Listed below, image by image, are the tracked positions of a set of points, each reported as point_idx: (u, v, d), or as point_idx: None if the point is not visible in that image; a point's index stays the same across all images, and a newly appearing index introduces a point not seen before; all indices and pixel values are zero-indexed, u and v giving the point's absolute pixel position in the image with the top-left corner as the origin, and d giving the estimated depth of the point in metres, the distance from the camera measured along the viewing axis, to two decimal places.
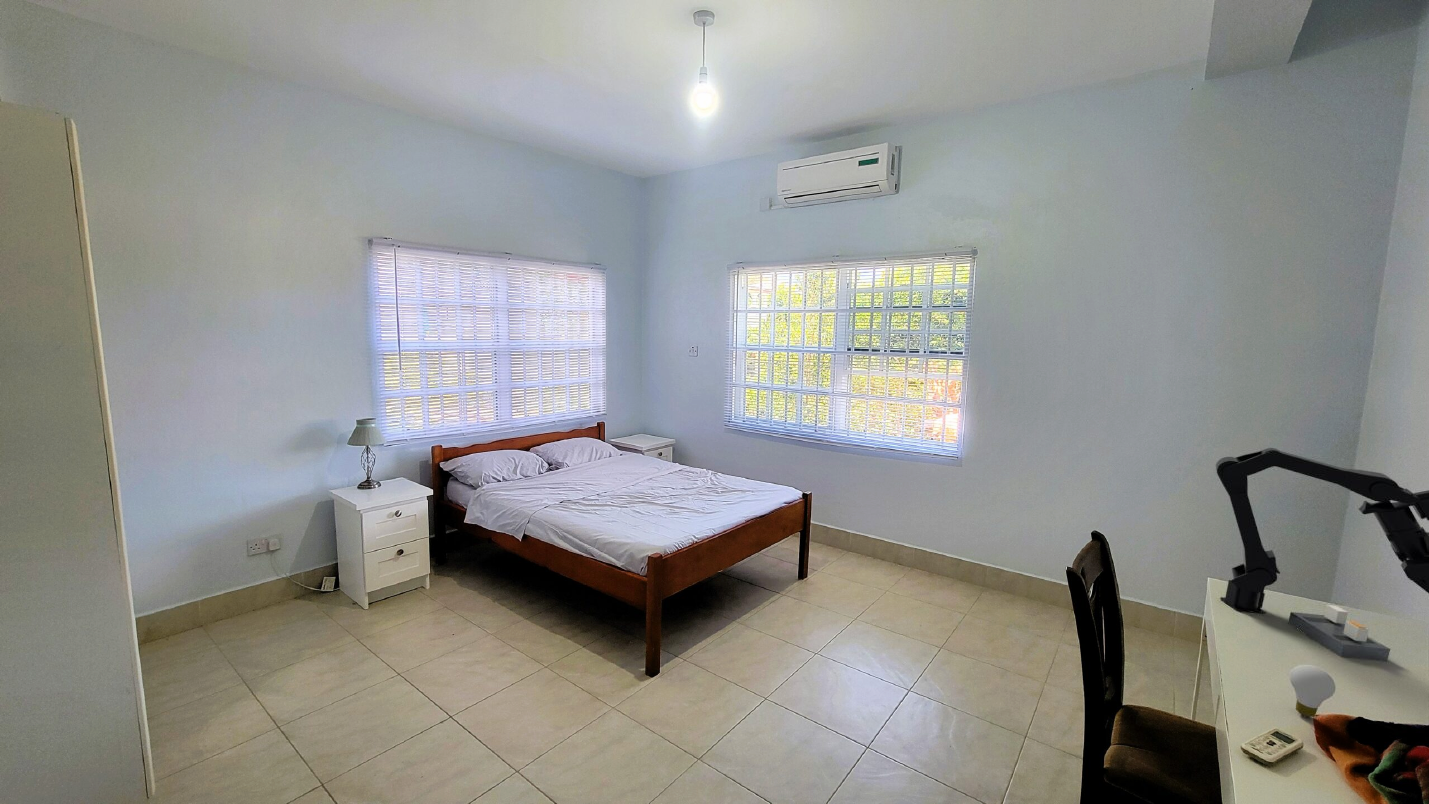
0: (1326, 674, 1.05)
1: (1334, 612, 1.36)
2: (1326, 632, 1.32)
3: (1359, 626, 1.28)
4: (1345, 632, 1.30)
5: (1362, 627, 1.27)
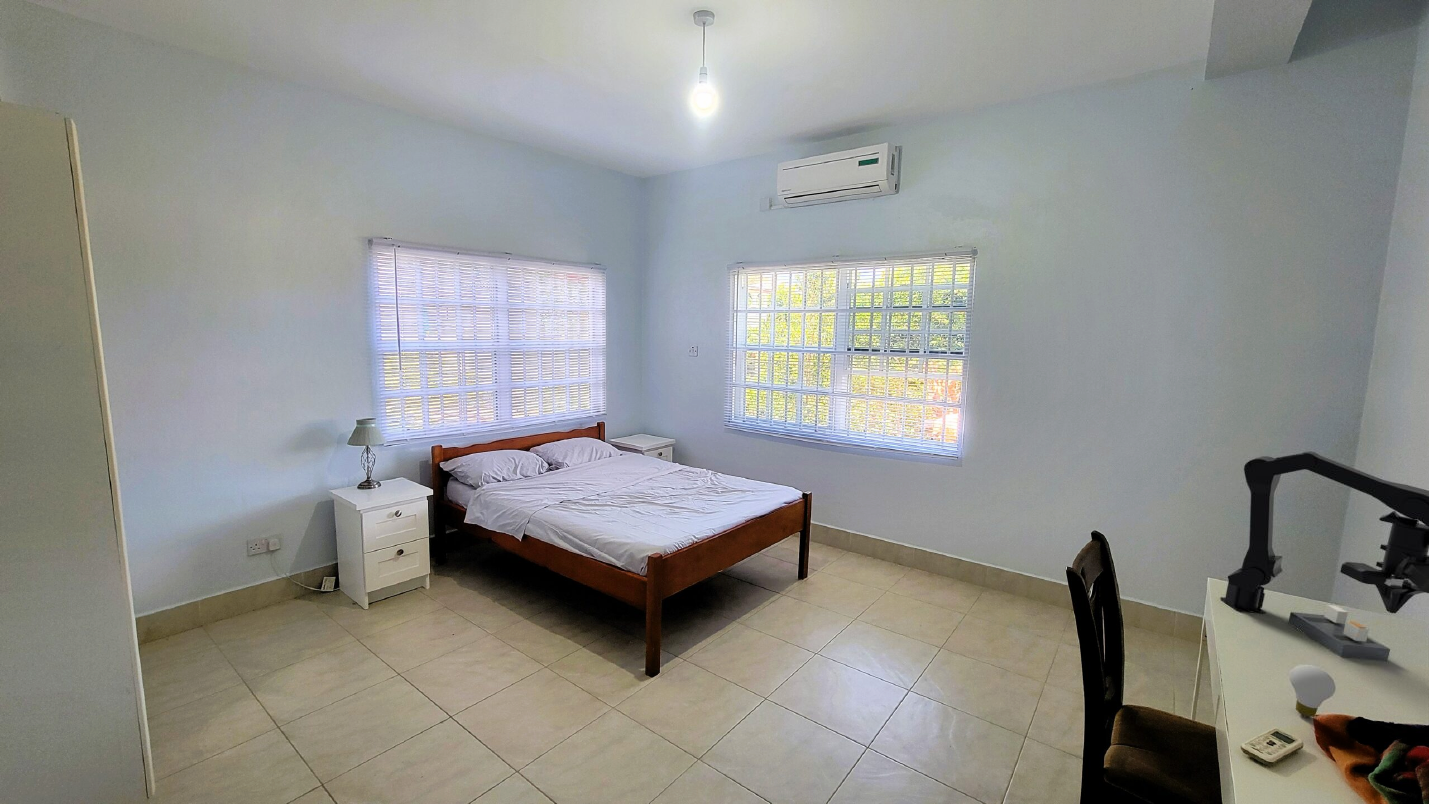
0: (1326, 674, 1.05)
1: (1334, 612, 1.36)
2: (1326, 632, 1.32)
3: (1359, 626, 1.28)
4: (1345, 632, 1.30)
5: (1362, 627, 1.27)
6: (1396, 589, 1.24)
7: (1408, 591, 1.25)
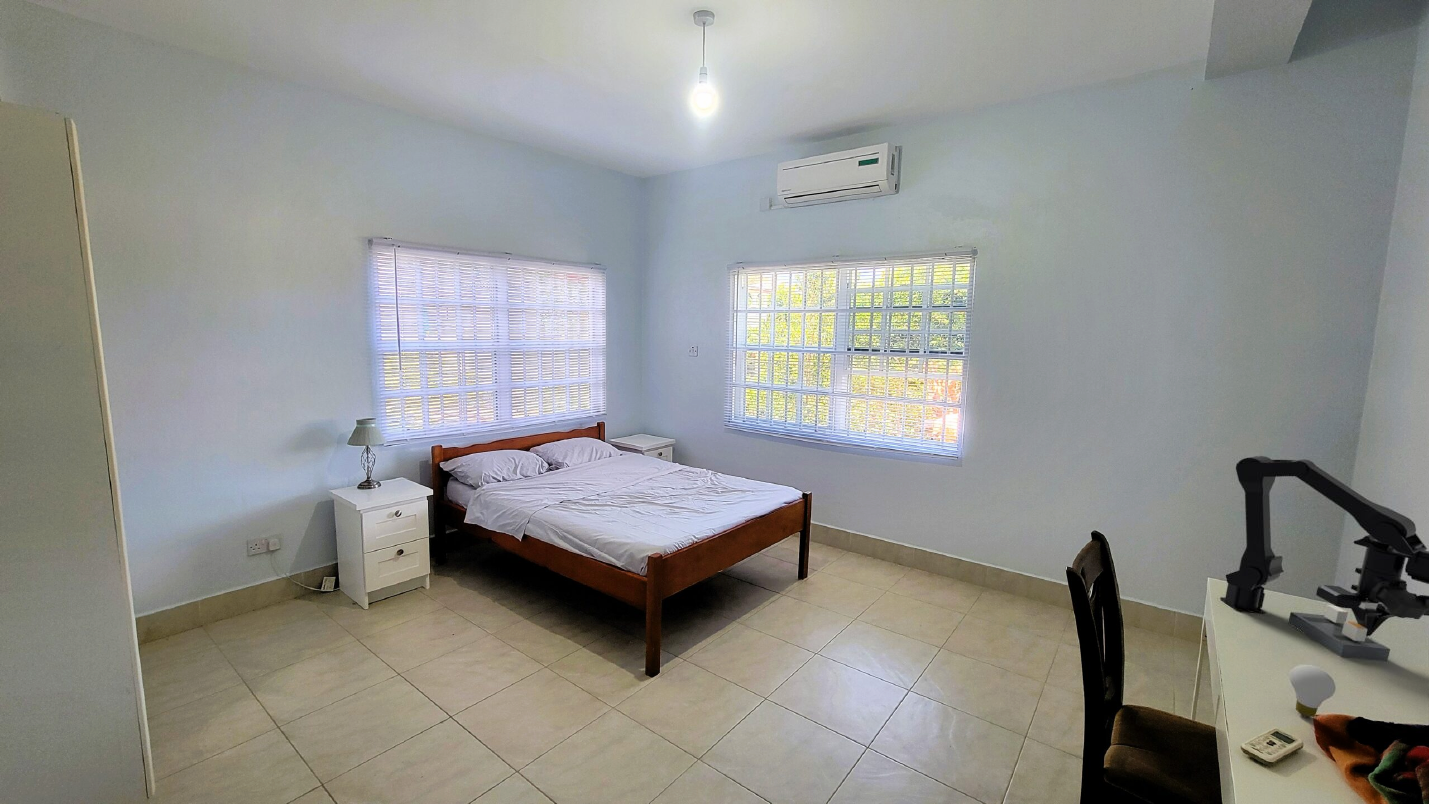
0: (1326, 674, 1.05)
1: (1334, 612, 1.36)
2: (1326, 632, 1.32)
3: (1358, 626, 1.28)
4: (1344, 632, 1.30)
5: (1361, 627, 1.27)
6: (1371, 613, 1.25)
7: (1382, 614, 1.26)
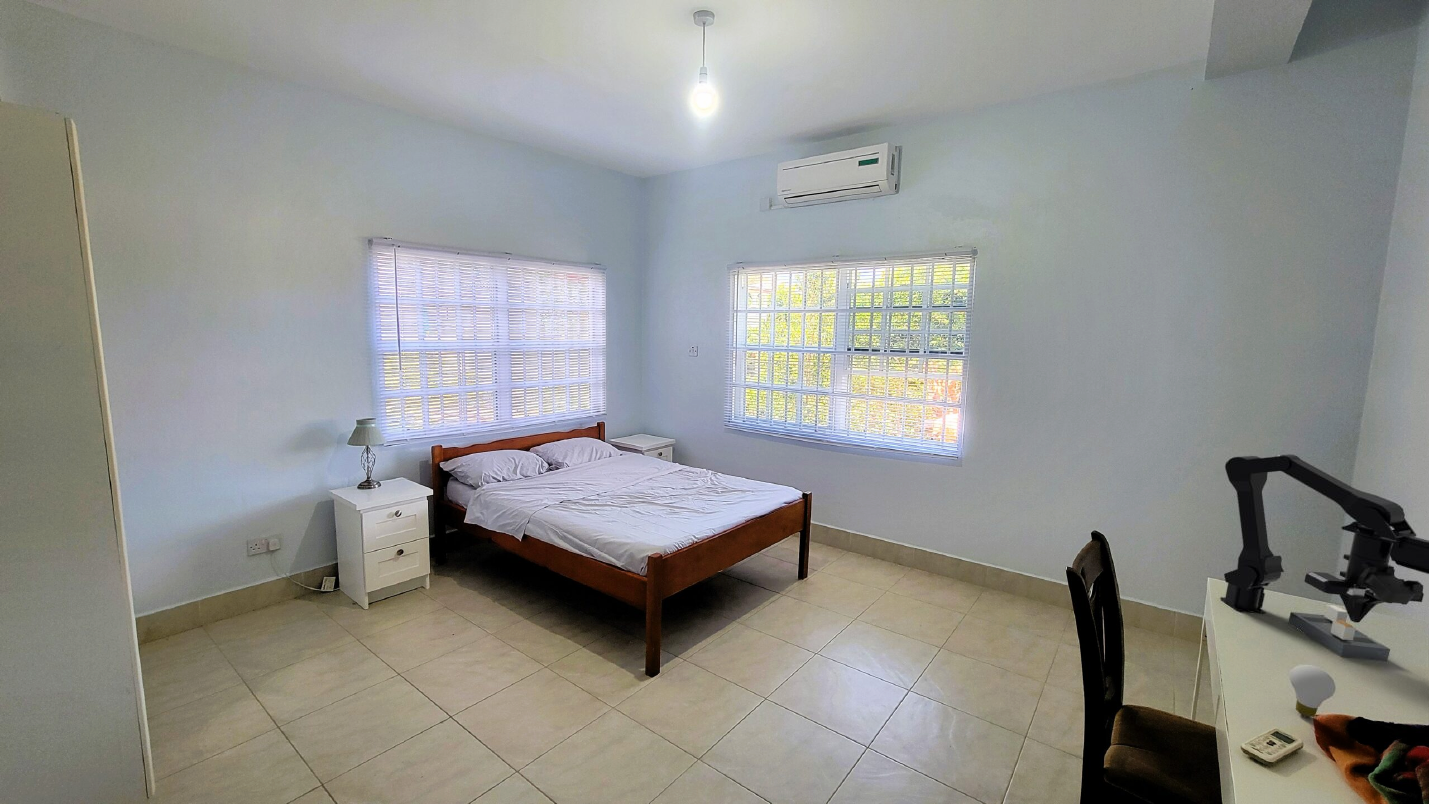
0: (1326, 674, 1.05)
1: (1334, 612, 1.36)
2: (1326, 632, 1.32)
3: (1346, 625, 1.28)
4: (1332, 631, 1.30)
5: (1349, 626, 1.28)
6: (1359, 599, 1.25)
7: (1370, 601, 1.26)
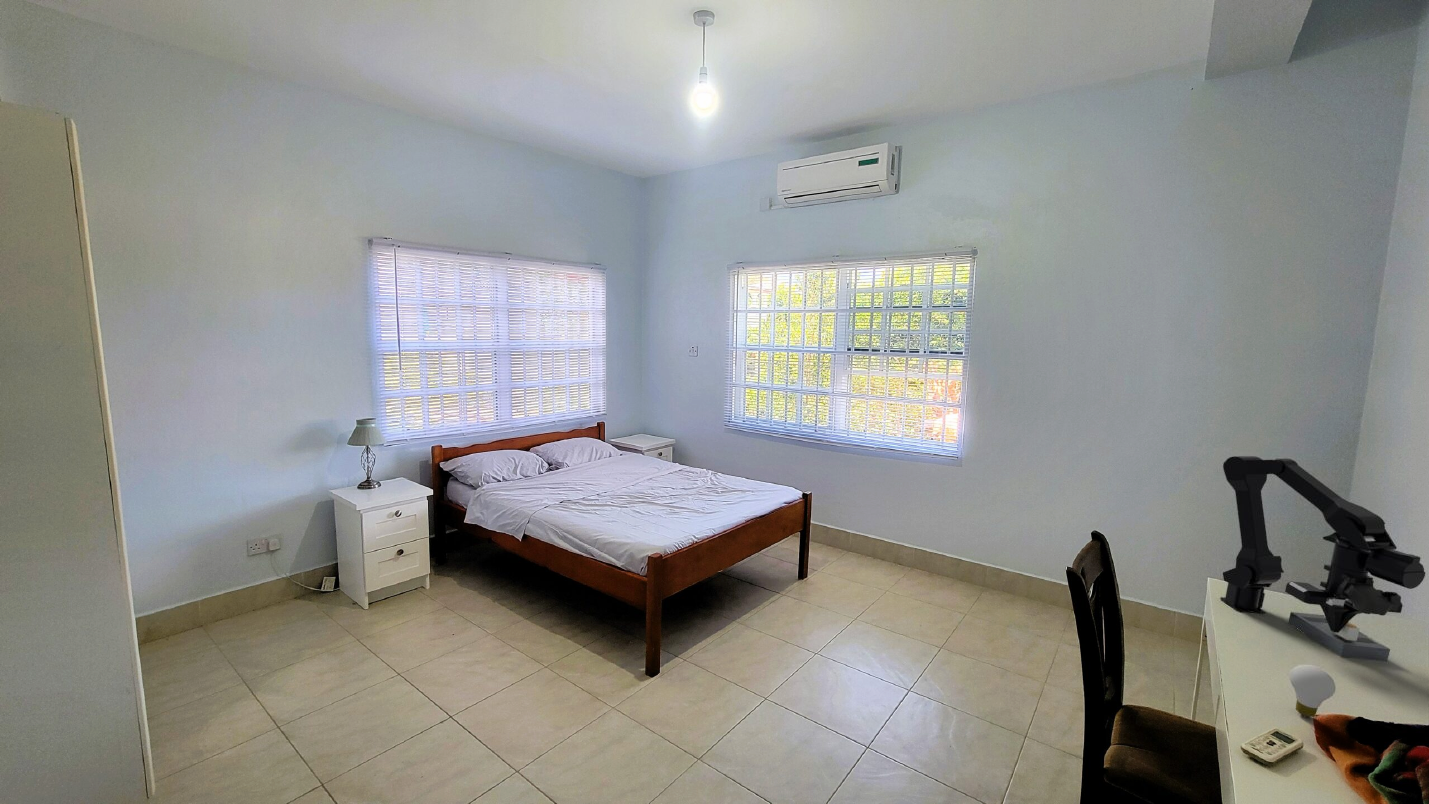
0: (1326, 674, 1.05)
1: None
2: (1326, 632, 1.32)
3: (1350, 625, 1.28)
4: None
5: (1353, 626, 1.28)
6: (1338, 609, 1.26)
7: (1350, 611, 1.27)
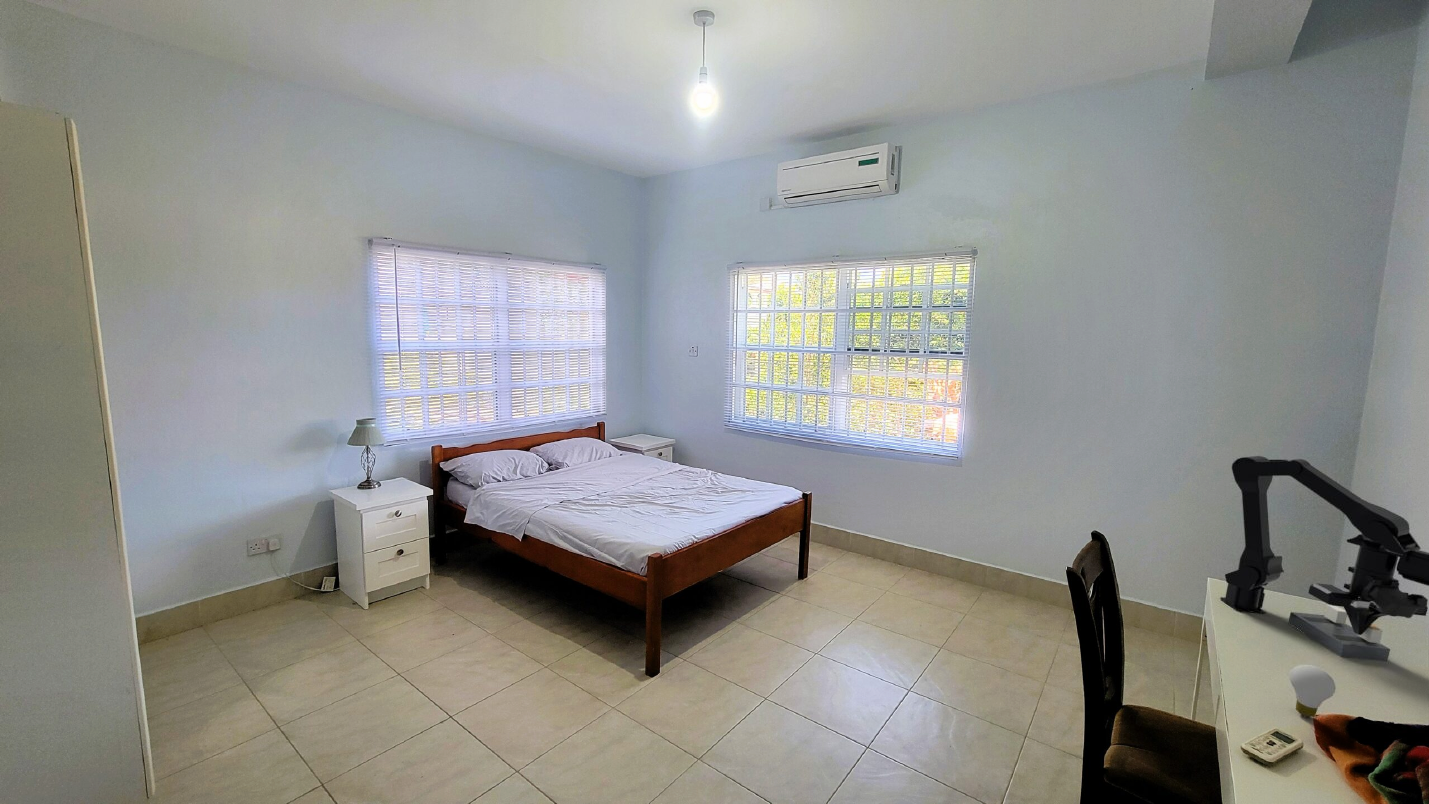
0: (1326, 674, 1.05)
1: (1334, 612, 1.36)
2: (1326, 632, 1.32)
3: (1373, 627, 1.27)
4: None
5: (1376, 628, 1.27)
6: (1363, 612, 1.25)
7: (1373, 613, 1.26)
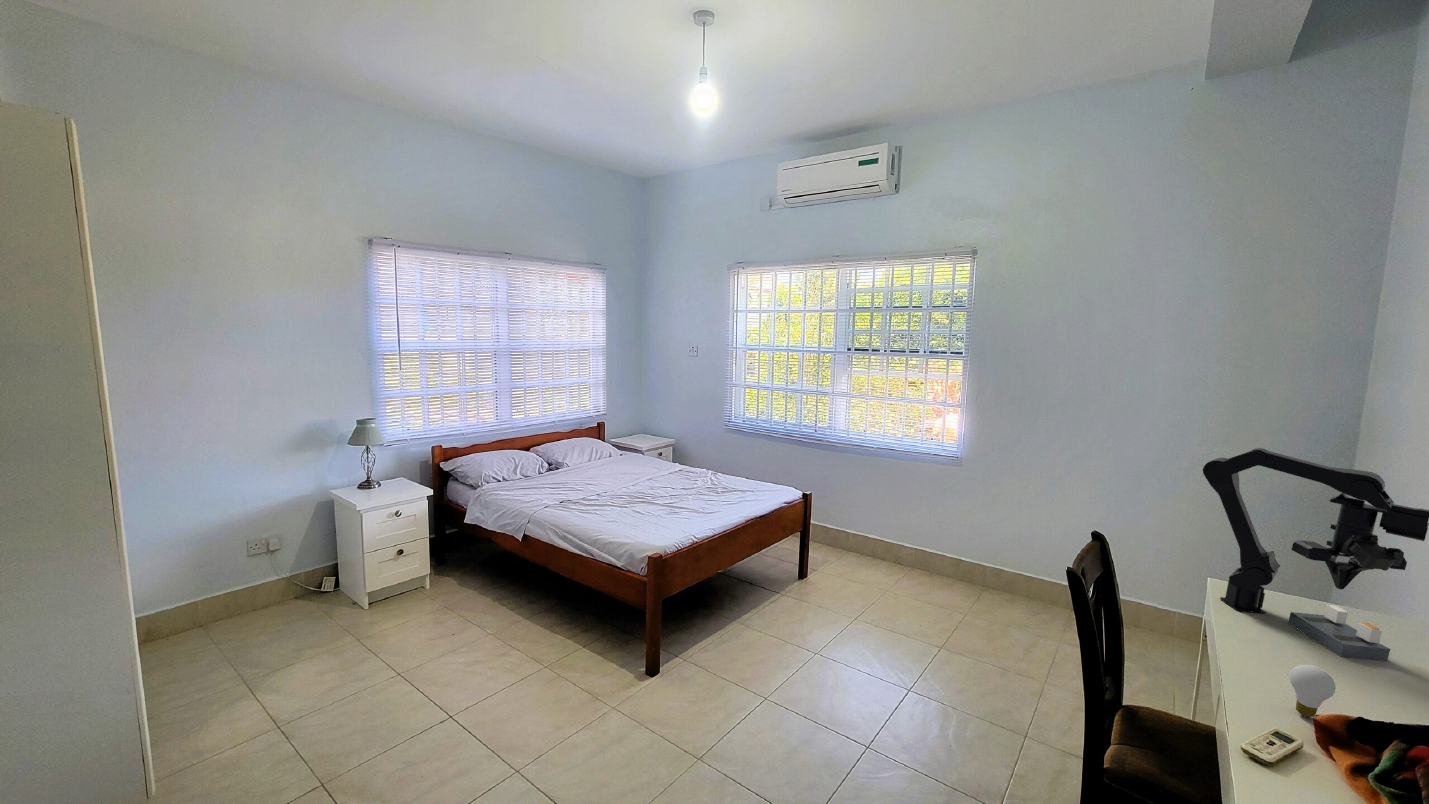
0: (1326, 674, 1.05)
1: (1334, 612, 1.36)
2: (1326, 632, 1.32)
3: (1372, 627, 1.27)
4: (1358, 633, 1.30)
5: (1375, 628, 1.27)
6: (1342, 566, 1.31)
7: (1354, 568, 1.32)
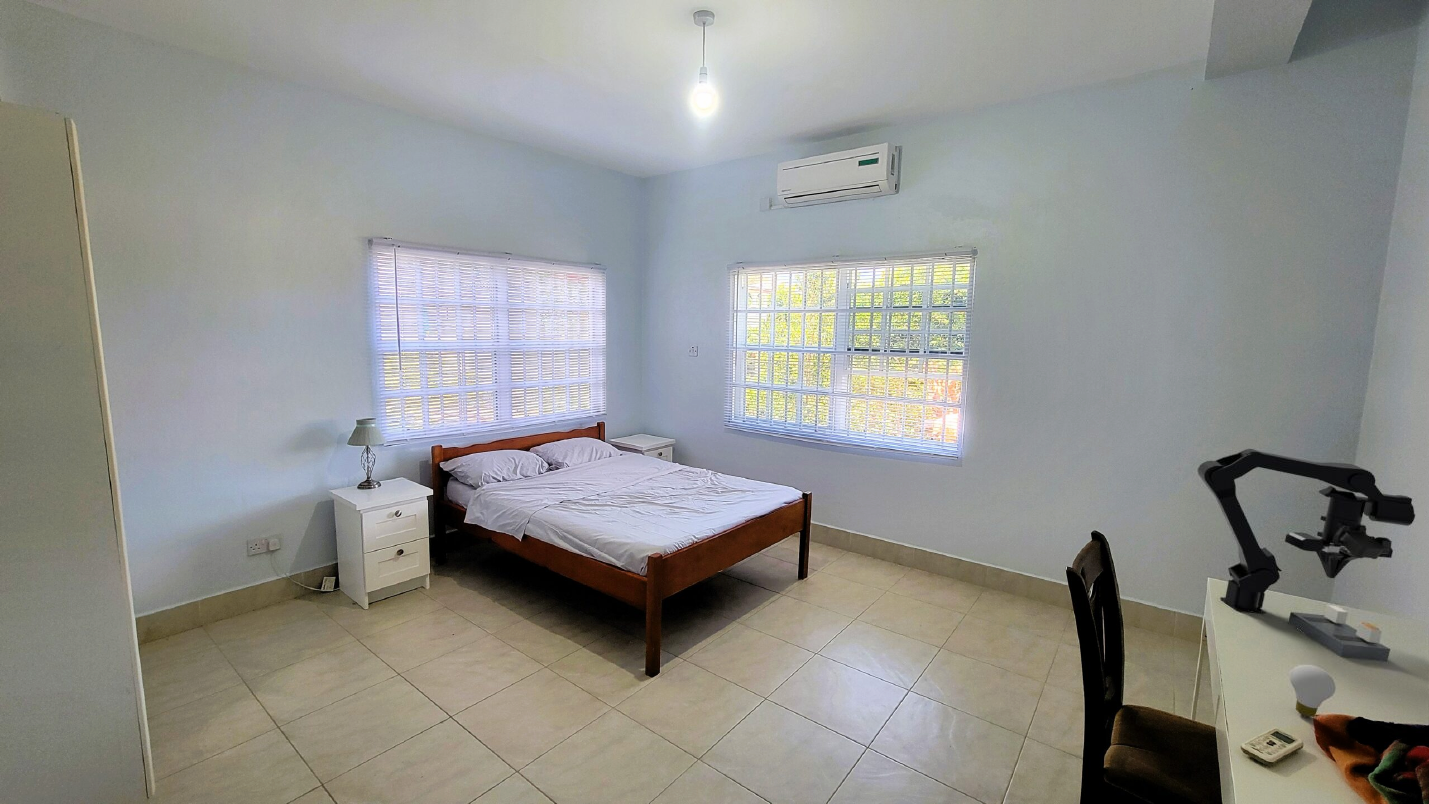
0: (1326, 674, 1.05)
1: (1334, 612, 1.36)
2: (1326, 632, 1.32)
3: (1372, 627, 1.27)
4: (1358, 633, 1.30)
5: (1375, 628, 1.27)
6: (1334, 556, 1.36)
7: (1344, 557, 1.37)
